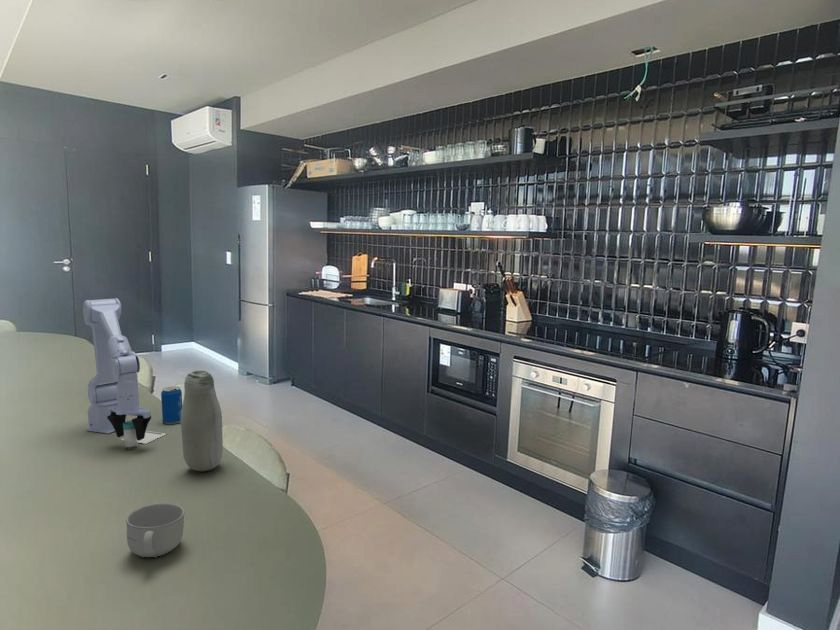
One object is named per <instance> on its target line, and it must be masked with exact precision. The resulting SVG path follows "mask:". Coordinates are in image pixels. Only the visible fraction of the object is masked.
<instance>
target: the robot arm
mask: <svg viewBox="0 0 840 630" xmlns="http://www.w3.org/2000/svg"><path fill="white" fill-rule="evenodd" d="M82 312H83V321H84V324H85V325H86V326H89V327H90V328H91V330H92V331H91V332H92V340H93V350H94V351H93V352H94V357H95V358H94V359H95V368H96V369H95V370H96V375H95V376H93V378H91V379H90V380H89V381H88V383H87V397H88V401H89V403H90V405H89V407H88V409H87V421H88V428H86V431H89V432H96V433H102V434H111V433H113V432H114V433H115V435H116V436H117V438H121V437H124V429H123V423H124V422H126V419H127V416H132V417H133V416H134V418H132V419H131V421H132V422H133V424H134V427H135V430H136V438H137V440H142V439H144V436H145V432H146V431H147V427H148V425H149V422H150V421H151V419H152V414H151V413H152V412H151V409H147V408H144V407H142V406H140V397H139V395H140V394H139V382H138V373H139V372H140V370H141V363H140V358H139V356H138V354H137V353H136V352H135V351H133V350H132V346H131V345H130V342H129V340H128V338H127V336H125V335H123V334H122V331H121V326H120V323H119V320H120V318H121V314H122V304H121V301H120V299H119V298H117V297H115V298H105V299H86V300H85V301H84V302H83V303H82Z"/></svg>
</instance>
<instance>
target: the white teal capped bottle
mask: <svg viewBox="0 0 840 630" xmlns="http://www.w3.org/2000/svg"><path fill="white" fill-rule="evenodd" d="M123 429H124V436H123V438H124V441H123V442H124V447H125V449H126V450H128V449H131V450H135V449H136V448H137V445H138V444H139V443H138V442H137V438H136V430H135V427H134V424H133V422H132V420H126V421H125V422H124V423H123ZM134 448H135V449H134Z"/></svg>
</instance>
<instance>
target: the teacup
mask: <svg viewBox="0 0 840 630" xmlns="http://www.w3.org/2000/svg"><path fill="white" fill-rule="evenodd" d="M184 516H185V509H184V507H183V506H181V505H179V504H176V503H171V502H170V503H169V502H157V503H150V504H147V505H146V504H145V505H143V506H141V507H138V508H136V509H134V510H132V511H131V512H129V514H127V516H126V518H125V523H126V541H127V546H128V549H129V550H130V551H131V552H132V553H134V554H135V555H137V556H139V557H141V558H144V557H155V556H160V555H163V554H165V553H167V552H169V551H170V552H171V551H173V550H174V549H175V548H176V547H177V546H178V545H179V544H180V542H181V541H182V538H183V535H184V527H185V525H184V524H185V522H184V521H185V520H184V519H185V517H184ZM170 552H169V553H170ZM167 554H168V553H167ZM165 555H166V554H165ZM163 556H164V555H163ZM160 557H161V556H160ZM155 558H156V557H155Z"/></svg>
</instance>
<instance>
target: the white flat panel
mask: <svg viewBox="0 0 840 630" xmlns="http://www.w3.org/2000/svg"><path fill="white" fill-rule="evenodd" d="M166 434H167V433H165V432H158V431H150V430H146V432H145V436H144V439H142V440H137V442H138V444H139V443H142V444H141V445H147V443H148V444H150V443H152V442H154V441H156V440H158V439H157V438H159V439H161V438H163V437H165V436H167V435H166ZM164 435H165V436H164ZM162 436H163V437H162ZM160 437H161V438H160ZM155 439H156V440H155ZM153 440H154V441H153ZM151 441H152V442H151ZM120 442H124V437H123V438H121V439H120ZM149 442H150V443H149Z"/></svg>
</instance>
